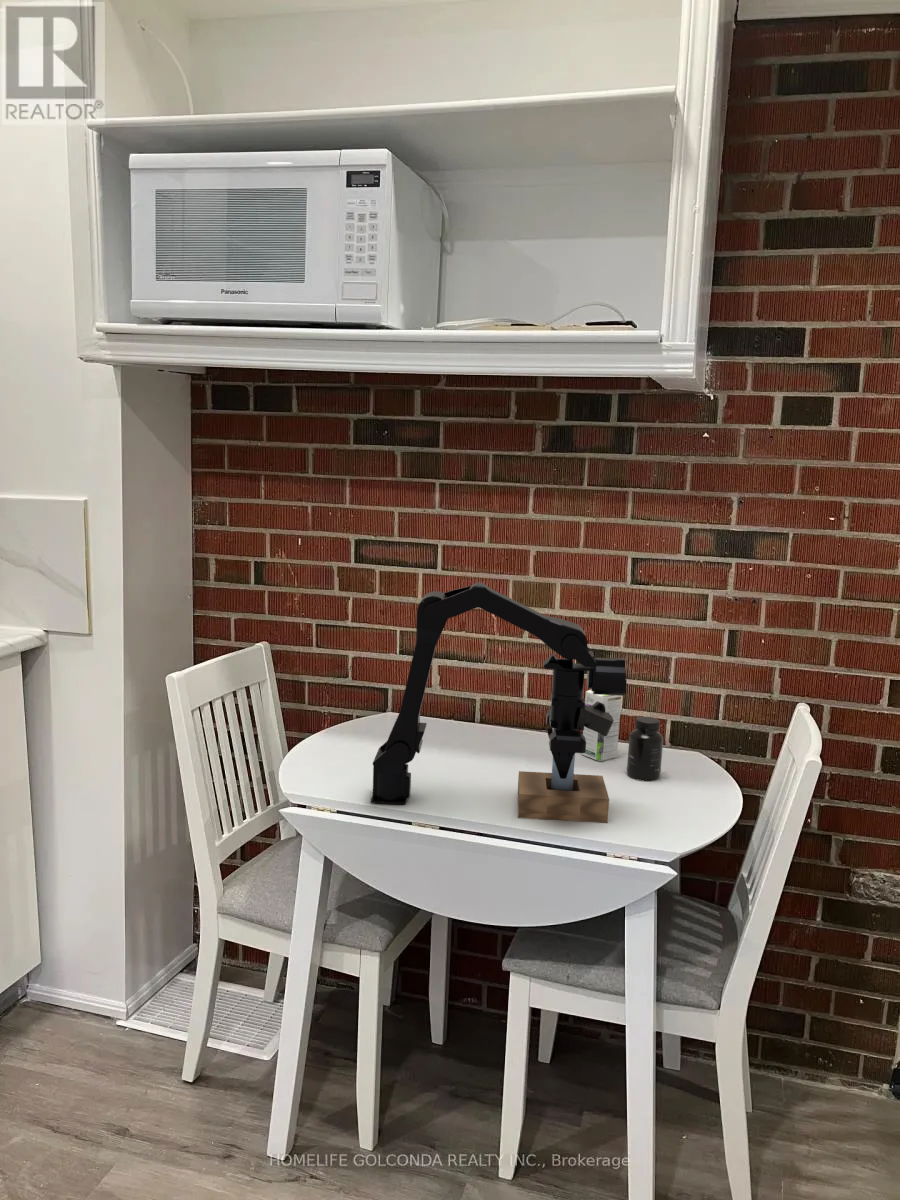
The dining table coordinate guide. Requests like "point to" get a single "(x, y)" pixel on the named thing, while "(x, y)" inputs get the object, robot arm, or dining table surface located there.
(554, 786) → the pin
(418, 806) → the dining table surface
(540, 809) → the socket block
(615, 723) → the syrup box
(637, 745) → the supplement bottle
